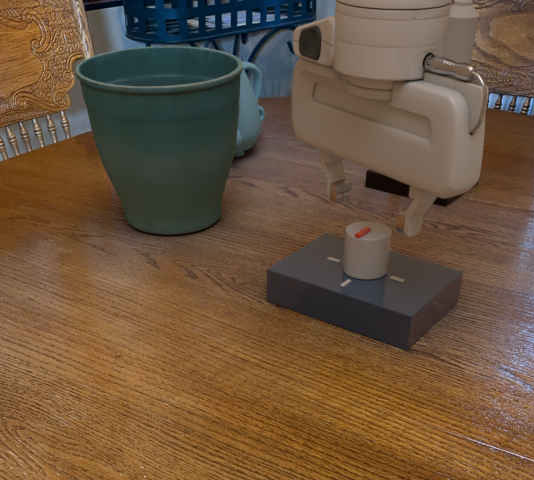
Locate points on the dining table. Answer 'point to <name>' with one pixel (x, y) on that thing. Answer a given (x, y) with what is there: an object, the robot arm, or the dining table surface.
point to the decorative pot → (249, 110)
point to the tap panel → (365, 292)
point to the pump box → (398, 187)
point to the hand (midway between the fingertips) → (371, 216)
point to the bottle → (461, 31)
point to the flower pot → (165, 131)
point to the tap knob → (366, 250)
